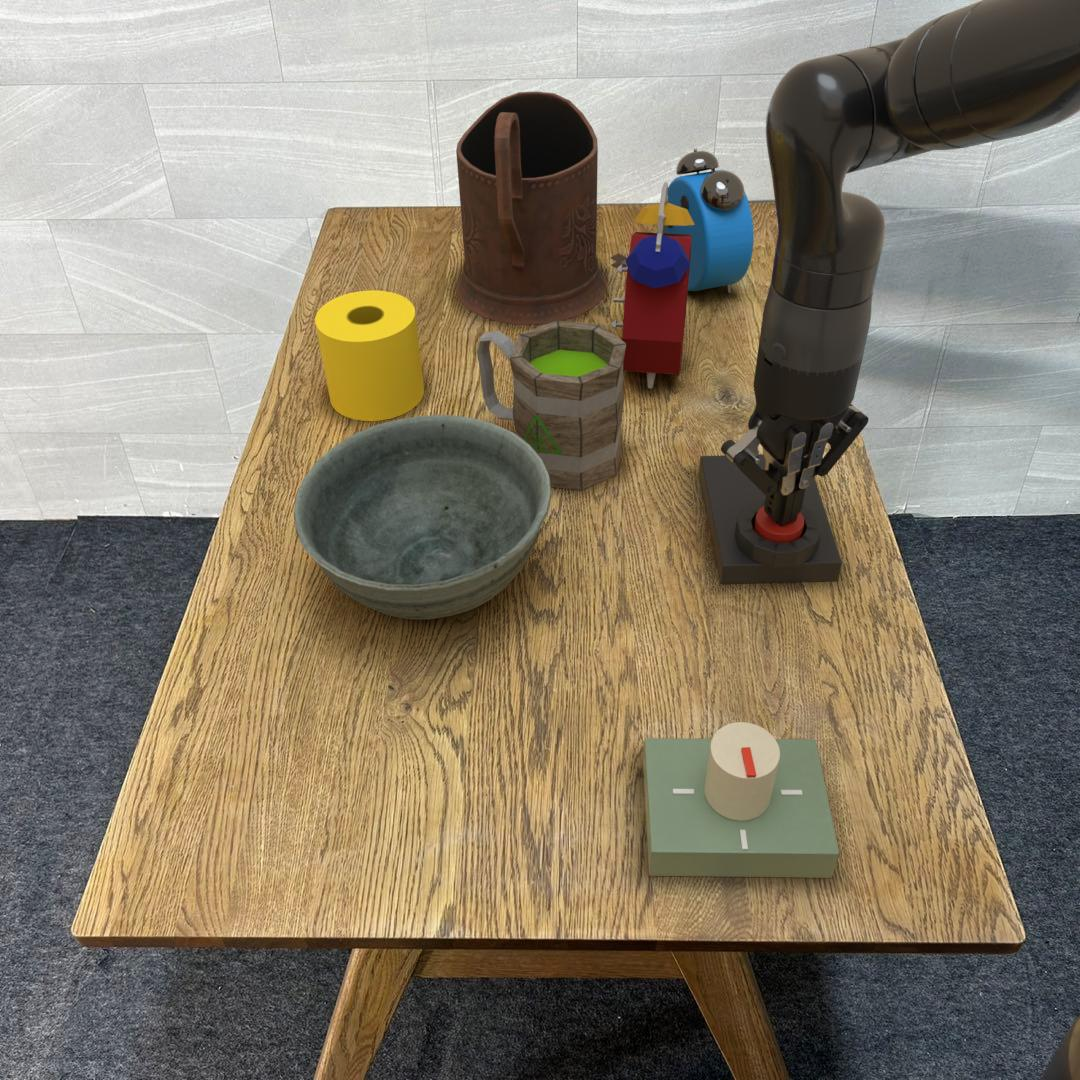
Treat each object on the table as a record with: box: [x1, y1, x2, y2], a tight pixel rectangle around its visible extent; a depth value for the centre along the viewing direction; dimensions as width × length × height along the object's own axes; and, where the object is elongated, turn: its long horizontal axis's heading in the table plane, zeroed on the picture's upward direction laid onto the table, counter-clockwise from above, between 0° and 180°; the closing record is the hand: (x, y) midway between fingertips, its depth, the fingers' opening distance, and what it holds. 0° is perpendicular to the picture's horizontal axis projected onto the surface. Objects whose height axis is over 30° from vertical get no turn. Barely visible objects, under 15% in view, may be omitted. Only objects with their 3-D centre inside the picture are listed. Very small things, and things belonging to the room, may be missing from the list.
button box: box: [698, 453, 843, 585], centre depth 93 cm, size 15×10×4 cm, turn 1°
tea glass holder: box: [455, 91, 608, 325], centre depth 117 cm, size 18×24×25 cm
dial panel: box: [642, 737, 840, 879], centre depth 71 cm, size 12×9×3 cm
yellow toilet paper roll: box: [314, 289, 425, 422], centre depth 108 cm, size 10×10×9 cm
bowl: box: [293, 414, 552, 620], centre depth 87 cm, size 21×21×10 cm
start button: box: [754, 506, 804, 543], centre depth 88 cm, size 4×4×2 cm
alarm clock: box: [665, 148, 755, 294], centre depth 122 cm, size 13×6×15 cm, turn 18°
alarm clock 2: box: [603, 181, 695, 390], centre depth 108 cm, size 15×9×20 cm, turn 171°
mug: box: [476, 320, 626, 491], centre depth 99 cm, size 16×11×12 cm
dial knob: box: [704, 721, 780, 821], centre depth 68 cm, size 4×4×5 cm
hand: (780, 518), depth 88 cm, fingers closed
